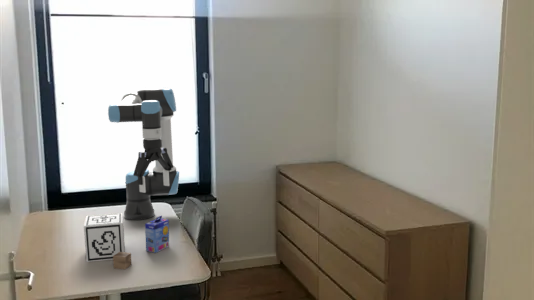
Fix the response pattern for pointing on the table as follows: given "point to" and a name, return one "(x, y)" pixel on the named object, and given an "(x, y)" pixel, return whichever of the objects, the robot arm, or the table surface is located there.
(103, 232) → the block
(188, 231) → the table surface
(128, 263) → the walnut cube
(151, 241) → the ink cartridge box
